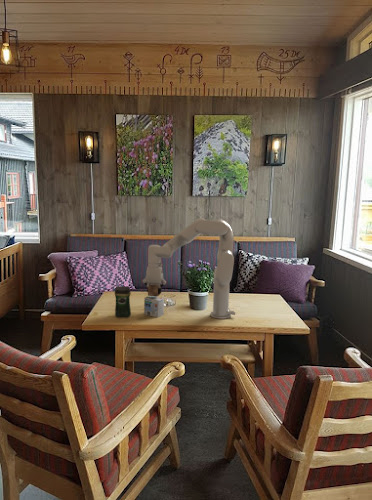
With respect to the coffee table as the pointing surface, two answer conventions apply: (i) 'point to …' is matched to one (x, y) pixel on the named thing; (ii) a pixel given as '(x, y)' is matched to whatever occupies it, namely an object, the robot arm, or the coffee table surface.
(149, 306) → the light bulb box
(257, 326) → the coffee table surface
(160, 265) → the robot arm
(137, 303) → the coffee table surface
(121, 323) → the coffee table surface
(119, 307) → the coffee jar
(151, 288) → the walnut cube
